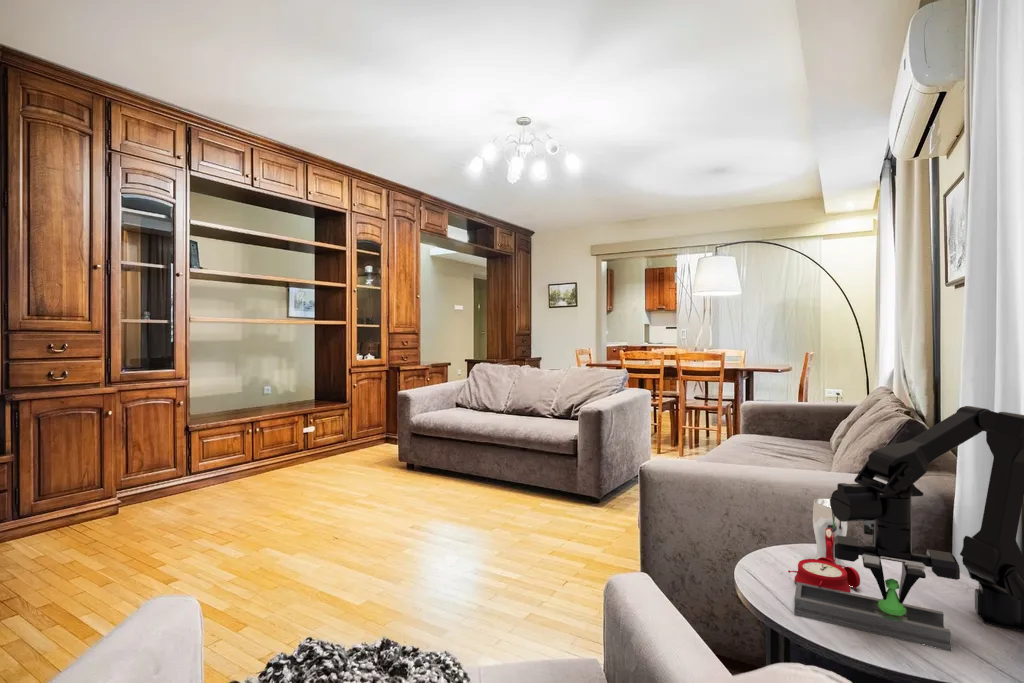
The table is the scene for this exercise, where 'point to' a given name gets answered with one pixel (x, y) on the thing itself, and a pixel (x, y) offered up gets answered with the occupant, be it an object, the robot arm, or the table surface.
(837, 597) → the track
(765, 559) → the table surface
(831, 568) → the alarm clock
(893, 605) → the game piece
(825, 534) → the beer glass
